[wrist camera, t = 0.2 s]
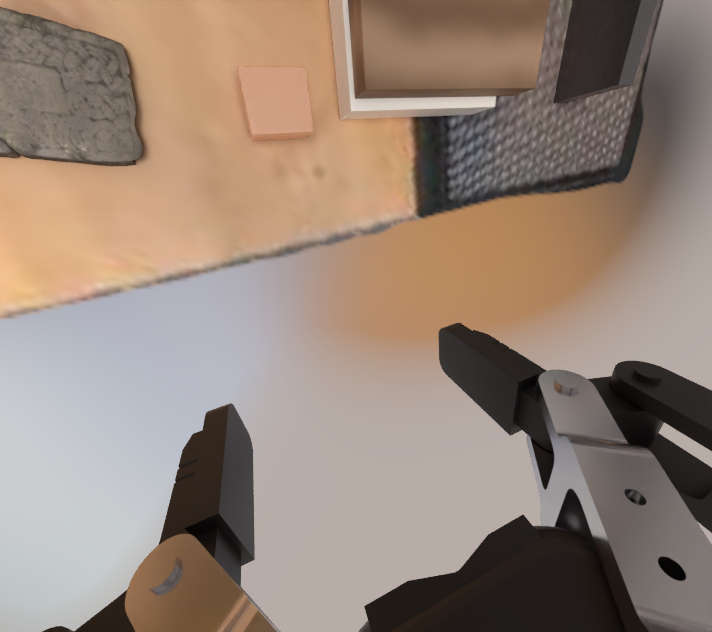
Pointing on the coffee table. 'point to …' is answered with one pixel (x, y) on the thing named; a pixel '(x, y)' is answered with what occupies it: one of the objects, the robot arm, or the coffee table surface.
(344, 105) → the riser
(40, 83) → the stone slab
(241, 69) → the support block
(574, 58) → the block
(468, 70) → the plank
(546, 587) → the robot arm
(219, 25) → the coffee table surface
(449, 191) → the coffee table surface
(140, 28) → the coffee table surface
